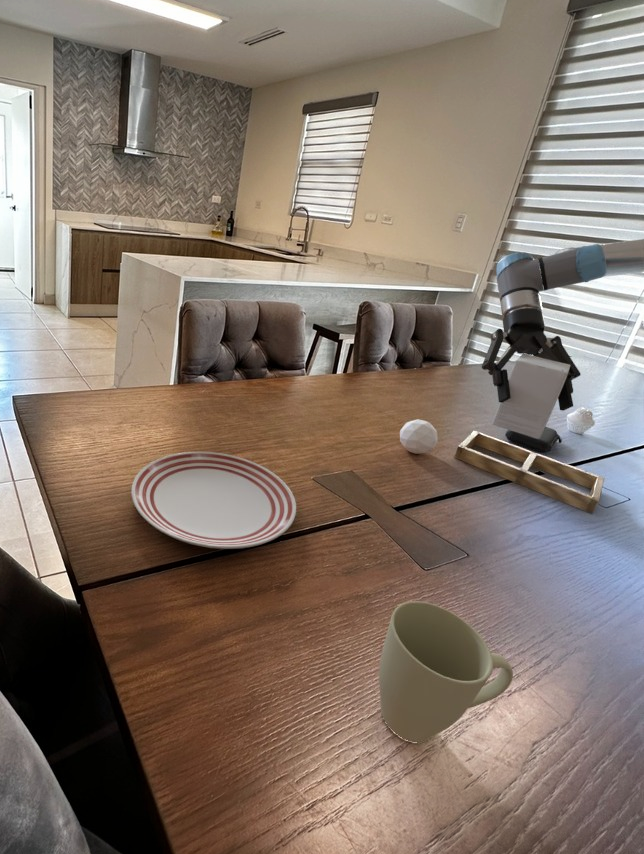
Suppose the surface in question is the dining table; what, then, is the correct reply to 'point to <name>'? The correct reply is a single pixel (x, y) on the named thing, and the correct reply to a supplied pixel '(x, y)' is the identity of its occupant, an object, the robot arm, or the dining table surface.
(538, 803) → the dining table surface
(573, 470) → the rack
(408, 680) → the mug
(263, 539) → the dinner plate
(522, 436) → the carrying case
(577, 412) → the muffin
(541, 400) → the rectangular carton
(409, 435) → the geometric ball
